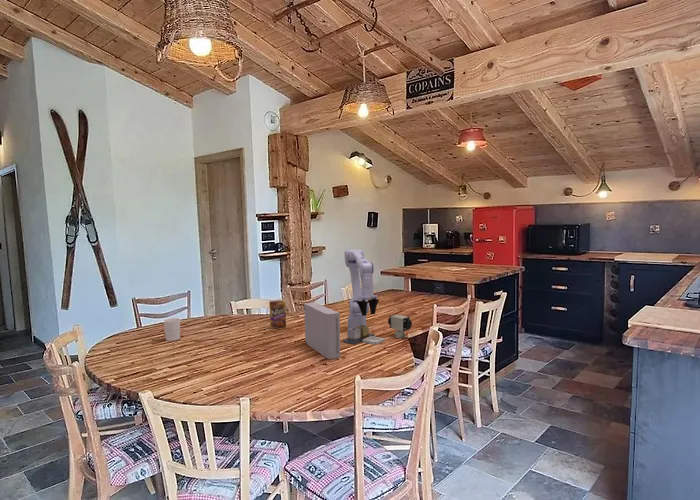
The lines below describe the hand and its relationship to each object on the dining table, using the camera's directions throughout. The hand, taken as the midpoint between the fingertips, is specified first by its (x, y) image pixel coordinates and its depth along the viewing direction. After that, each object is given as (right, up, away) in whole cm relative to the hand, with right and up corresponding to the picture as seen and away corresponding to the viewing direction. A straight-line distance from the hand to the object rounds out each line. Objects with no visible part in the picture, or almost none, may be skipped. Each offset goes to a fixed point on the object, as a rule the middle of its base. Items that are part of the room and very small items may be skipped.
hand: (368, 314), depth 224 cm
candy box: (-49, -12, +28) cm, 58 cm away
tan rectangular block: (-3, -12, +4) cm, 13 cm away
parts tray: (+2, -13, -3) cm, 13 cm away
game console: (-22, -15, -14) cm, 30 cm away
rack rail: (-5, -13, +1) cm, 14 cm away
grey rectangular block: (-7, -13, -2) cm, 15 cm away
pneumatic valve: (+16, -12, +4) cm, 21 cm away
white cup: (-100, -14, +9) cm, 101 cm away
